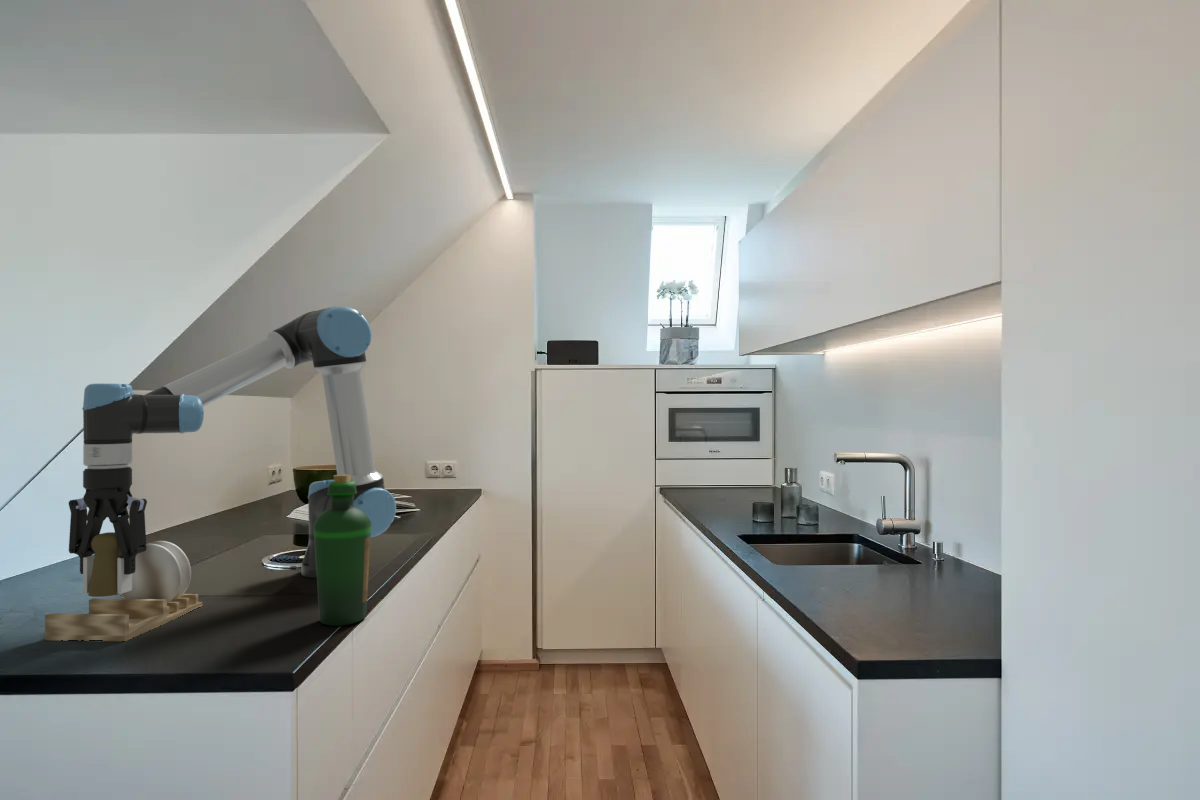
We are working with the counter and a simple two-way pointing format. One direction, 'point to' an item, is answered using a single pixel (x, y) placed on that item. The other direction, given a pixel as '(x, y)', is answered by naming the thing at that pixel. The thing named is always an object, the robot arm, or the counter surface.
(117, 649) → the counter surface
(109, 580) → the cork
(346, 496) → the bottle
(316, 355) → the robot arm
